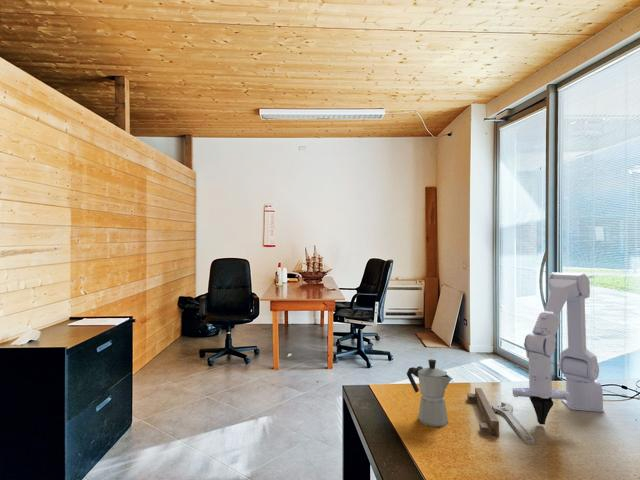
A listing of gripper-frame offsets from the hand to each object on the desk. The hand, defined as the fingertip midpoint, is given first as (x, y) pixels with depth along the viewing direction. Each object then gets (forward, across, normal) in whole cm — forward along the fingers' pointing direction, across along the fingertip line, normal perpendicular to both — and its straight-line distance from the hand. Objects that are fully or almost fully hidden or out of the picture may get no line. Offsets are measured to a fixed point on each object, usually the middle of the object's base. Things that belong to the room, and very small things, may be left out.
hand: (541, 423), depth 112 cm
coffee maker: (+1, -31, -2) cm, 31 cm away
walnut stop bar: (+1, -16, +4) cm, 16 cm away
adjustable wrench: (+2, -8, +1) cm, 8 cm away
